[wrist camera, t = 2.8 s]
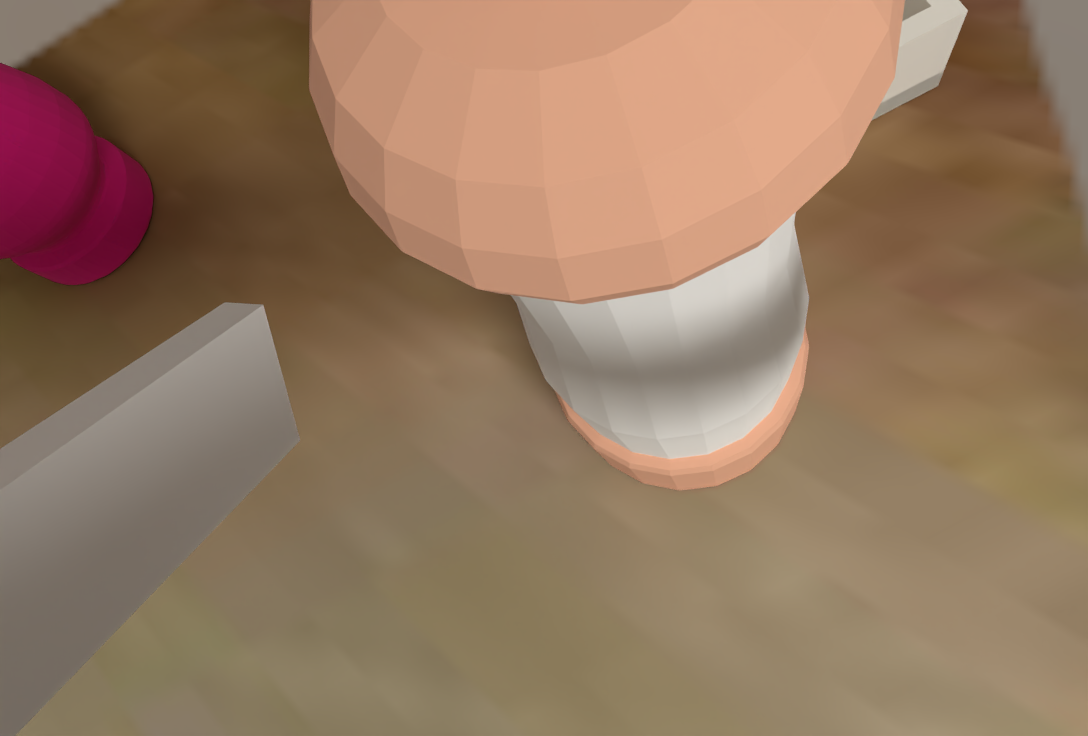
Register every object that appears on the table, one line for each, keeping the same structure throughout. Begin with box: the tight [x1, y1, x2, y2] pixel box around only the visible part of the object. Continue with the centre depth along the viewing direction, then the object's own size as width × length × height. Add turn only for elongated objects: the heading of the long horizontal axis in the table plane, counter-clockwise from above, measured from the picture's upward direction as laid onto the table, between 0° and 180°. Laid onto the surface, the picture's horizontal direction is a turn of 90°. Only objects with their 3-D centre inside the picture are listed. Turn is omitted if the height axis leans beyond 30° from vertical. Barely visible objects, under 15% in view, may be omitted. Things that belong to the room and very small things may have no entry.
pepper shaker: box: [309, 0, 905, 490], centre depth 15 cm, size 7×7×19 cm
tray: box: [872, 0, 968, 120], centre depth 26 cm, size 12×12×4 cm
